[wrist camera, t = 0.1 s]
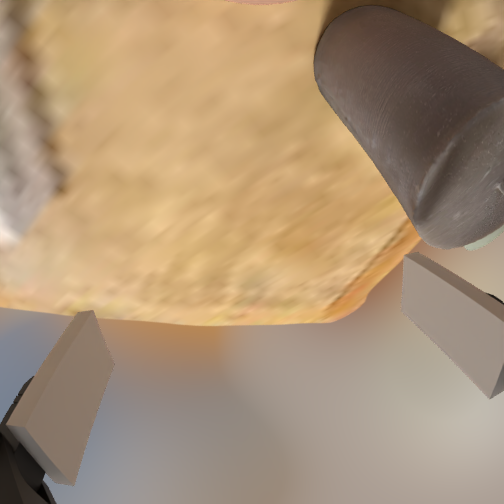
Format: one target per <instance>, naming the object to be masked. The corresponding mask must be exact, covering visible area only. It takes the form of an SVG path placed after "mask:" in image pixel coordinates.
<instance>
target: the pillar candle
mask: <svg viewBox="0 0 504 504" xmlns="http://www.w3.org/2000/svg"><path fill="white" fill-rule="evenodd" d="M314 75H315V80H316V82H317V84H318V87H319V90H320V92H321V94H322V95H323V97H324V98H325V100H326V101H327V102H328V103H329V105H330V106H331V108H332V109H333V110H334V112H335V113H336V114H337V115H338V116H339V118H340V119H341V121H342V122H343V123H344V125H345V126H346V127H347V128H348V130H349V131H350V132H351V133H352V134H353V136H354V137H355V138H356V140H357V141H358V142H359V144H360V145H361V146H362V148H363V149H364V150H365V152H366V153H367V154H368V156H369V157H370V159H371V160H372V161H373V163H374V164H375V166H376V167H377V169H378V170H379V172H380V173H381V175H382V176H383V178H384V179H385V181H386V182H387V184H388V185H389V187H390V188H391V190H392V192H393V193H394V195H395V196H396V197H397V199H398V200H399V202H400V204H401V205H402V207H403V209H404V211H405V212H406V214H407V215H408V217H409V219H410V220H411V222H412V224H413V226H414V227H415V229H416V231H417V232H418V234H419V236H420V237H421V238H422V239H423V240H424V241H425V242H426V243H427V244H428V245H430V246H433V247H436V248H441V249H451V248H457V247H463V246H465V245H468V244H471V243H474V242H476V241H478V240H480V239H483V238H485V237H486V236H487V235H489V234H492V233H493V232H494V231H496V230H497V229H499V228H500V227H502V226H503V225H504V70H503V69H502V68H500V67H499V66H497V65H496V64H494V63H493V62H491V61H490V60H488V59H487V58H485V57H484V56H482V55H481V54H479V53H477V52H476V51H474V50H473V49H471V48H469V47H467V46H466V45H464V44H462V43H461V42H459V41H457V40H455V39H454V38H452V37H450V36H448V35H446V34H444V33H443V32H441V31H439V30H437V29H435V28H433V27H431V26H429V25H427V24H425V23H423V22H421V21H419V20H416V19H414V18H412V17H410V16H408V15H406V14H403V13H401V12H399V11H396V10H394V9H391V8H387V7H383V6H374V5H369V6H361V7H357V8H354V9H351V10H349V11H346V12H344V13H343V14H341V15H340V16H338V17H337V18H335V19H334V20H333V21H332V22H331V23H330V24H329V26H328V27H327V29H326V30H325V32H324V34H323V36H322V38H321V40H320V42H319V44H318V47H317V51H316V54H315V58H314Z"/></svg>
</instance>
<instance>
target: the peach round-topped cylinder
mask: <svg viewBox="0 0 504 504" xmlns="http://www.w3.org/2000/svg"><path fill="white" fill-rule="evenodd" d="M226 1H231V2H236V3H243V4H253V5H269V4H281V3H286V2H292V1H296V0H226Z"/></svg>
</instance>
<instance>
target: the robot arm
mask: <svg viewBox="0 0 504 504" xmlns="http://www.w3.org/2000/svg"><path fill="white" fill-rule="evenodd" d="M401 312H403V313H404V314H405V315H406V316H407V317H408V318H409V319H410V320H411V321H412V322H413V323H414V324H415V325H416V326H417V327H418V328H419V329H420V330H421V331H422V332H424V333H425V334H426V335H427V336H428V337H429V338H430V339H431V340H432V341H433V342H434V343H435V344H436V345H437V346H438V347H439V348H440V349H441V350H442V351H443V352H444V353H445V354H446V355H447V356H448V357H449V358H450V359H451V360H452V361H453V362H454V363H455V364H456V365H457V366H458V367H459V368H460V369H461V370H462V371H463V372H464V373H465V374H466V375H467V376H468V377H469V378H470V379H471V381H473V383H474V384H475V385H476V386H477V387H478V388H479V389H480V390H481V391H482V392H483V393H484V394H485V395H486V396H487V397H488V398H489V399H491V398H493V397H494V396H496V395H497V394H499V393H501V392H502V391H504V303H503V301H501V300H500V299H498V298H497V297H495V296H494V295H491V294H488V293H485V292H483V291H482V290H480V289H478V288H477V287H475V286H474V285H472V284H470V283H469V282H467V281H466V280H464V279H462V278H461V277H459V276H458V275H456V274H454V273H453V272H451V271H449V270H448V269H446V268H444V267H443V266H441V265H439V264H438V263H436V262H434V261H432V260H431V259H429V258H427V257H426V256H424V255H422V254H420V253H419V252H415V253H411V254H406V255H404V266H403V287H402V302H401ZM114 365H115V363H114V361H113V359H112V356H111V354H110V351H109V349H108V347H107V344H106V342H105V339H104V337H103V334H102V332H101V329H100V327H99V324H98V321H97V319H96V316H95V313H94V311H93V310H90V311H83V312H78V313H77V314H76V316H75V317H74V319H73V320H72V321H71V323H70V324H69V326H68V327H67V328H66V330H65V331H64V333H63V334H62V335H61V337H60V338H59V340H58V341H57V343H56V344H55V346H54V347H53V349H52V350H51V352H50V353H49V355H48V356H47V358H46V359H45V361H44V362H43V364H42V365H41V367H40V368H39V370H38V372H37V373H36V375H35V376H33V377H32V378H31V379H29V380H28V381H27V382H26V383H25V384H24V385H23V387H22V389H21V390H20V392H19V393H18V396H16V398H15V400H14V404H12V405H11V406H10V408H9V410H8V411H7V413H6V415H5V417H4V418H3V420H2V422H1V424H0V504H56V502H55V500H54V498H53V496H52V494H51V492H50V490H49V487H48V486H47V485H46V483H45V482H44V481H43V478H44V475H45V473H46V474H47V475H48V476H49V477H50V478H51V479H52V480H53V481H54V482H55V483H58V484H65V485H71V486H74V485H75V482H76V478H77V475H78V471H79V468H80V464H81V461H82V458H83V454H84V451H85V448H86V445H87V442H88V438H89V435H90V432H91V429H92V426H93V423H94V420H95V417H96V414H97V411H98V409H99V406H100V403H101V400H102V397H103V394H104V392H105V389H106V386H107V383H108V381H109V378H110V375H111V372H112V370H113V367H114Z"/></svg>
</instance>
